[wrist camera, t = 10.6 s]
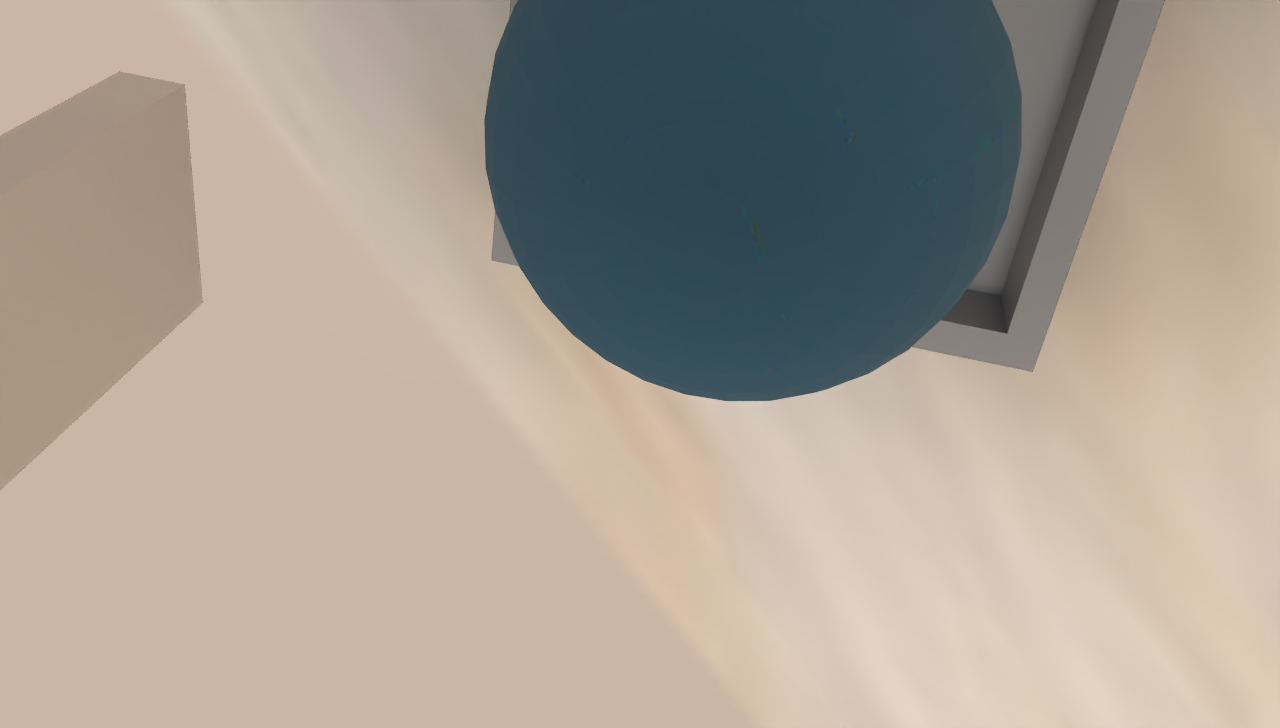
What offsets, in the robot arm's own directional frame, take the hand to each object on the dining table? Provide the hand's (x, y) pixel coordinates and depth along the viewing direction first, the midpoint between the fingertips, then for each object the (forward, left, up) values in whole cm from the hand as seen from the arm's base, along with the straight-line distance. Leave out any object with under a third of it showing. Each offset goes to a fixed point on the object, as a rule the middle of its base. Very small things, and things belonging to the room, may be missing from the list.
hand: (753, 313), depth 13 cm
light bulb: (0, 0, -15) cm, 15 cm away
